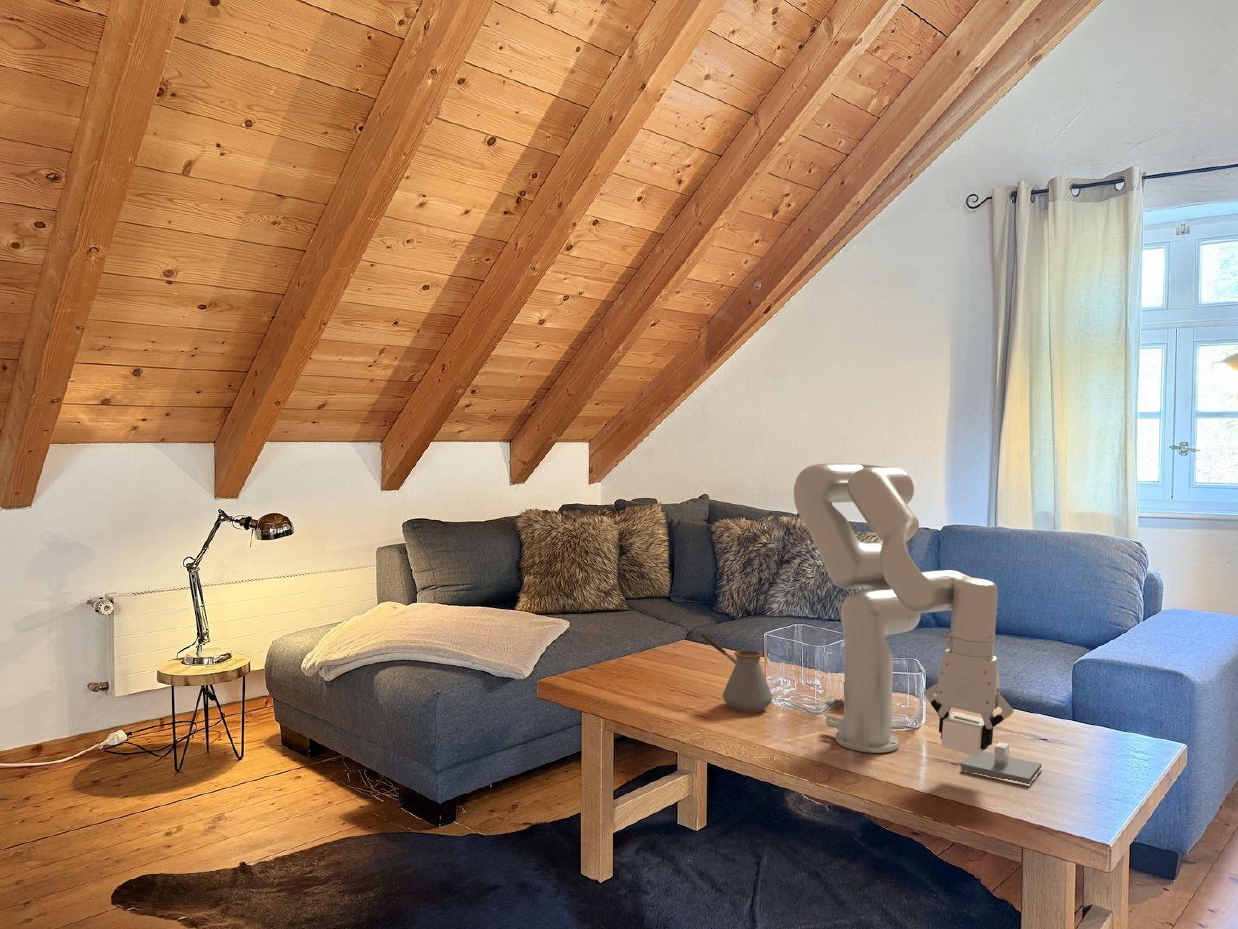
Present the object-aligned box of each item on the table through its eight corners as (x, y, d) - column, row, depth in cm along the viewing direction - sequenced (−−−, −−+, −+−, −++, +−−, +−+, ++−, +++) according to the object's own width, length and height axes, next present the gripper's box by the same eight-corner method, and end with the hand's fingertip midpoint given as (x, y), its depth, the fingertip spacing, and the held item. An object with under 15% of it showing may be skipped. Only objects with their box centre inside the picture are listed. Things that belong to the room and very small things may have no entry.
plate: (960, 771, 170) (961, 763, 170) (975, 757, 178) (976, 749, 178) (1028, 787, 163) (1029, 778, 163) (1041, 771, 171) (1041, 763, 171)
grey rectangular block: (994, 764, 169) (994, 746, 169) (998, 760, 172) (999, 742, 172) (1004, 766, 168) (1004, 748, 168) (1008, 762, 171) (1009, 744, 171)
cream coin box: (941, 747, 164) (943, 719, 164) (952, 737, 169) (953, 710, 169) (977, 756, 160) (979, 728, 160) (987, 746, 166) (989, 719, 165)
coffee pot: (782, 709, 208) (783, 645, 208) (749, 719, 200) (750, 652, 200) (714, 689, 224) (716, 629, 224) (682, 697, 217) (683, 635, 216)
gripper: (917, 641, 166) (910, 736, 167) (1016, 660, 155) (1009, 761, 157) (930, 634, 172) (924, 725, 173) (1027, 652, 161) (1020, 749, 163)
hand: (964, 741), depth 165 cm, fingers closed on cream coin box, 6 cm apart
